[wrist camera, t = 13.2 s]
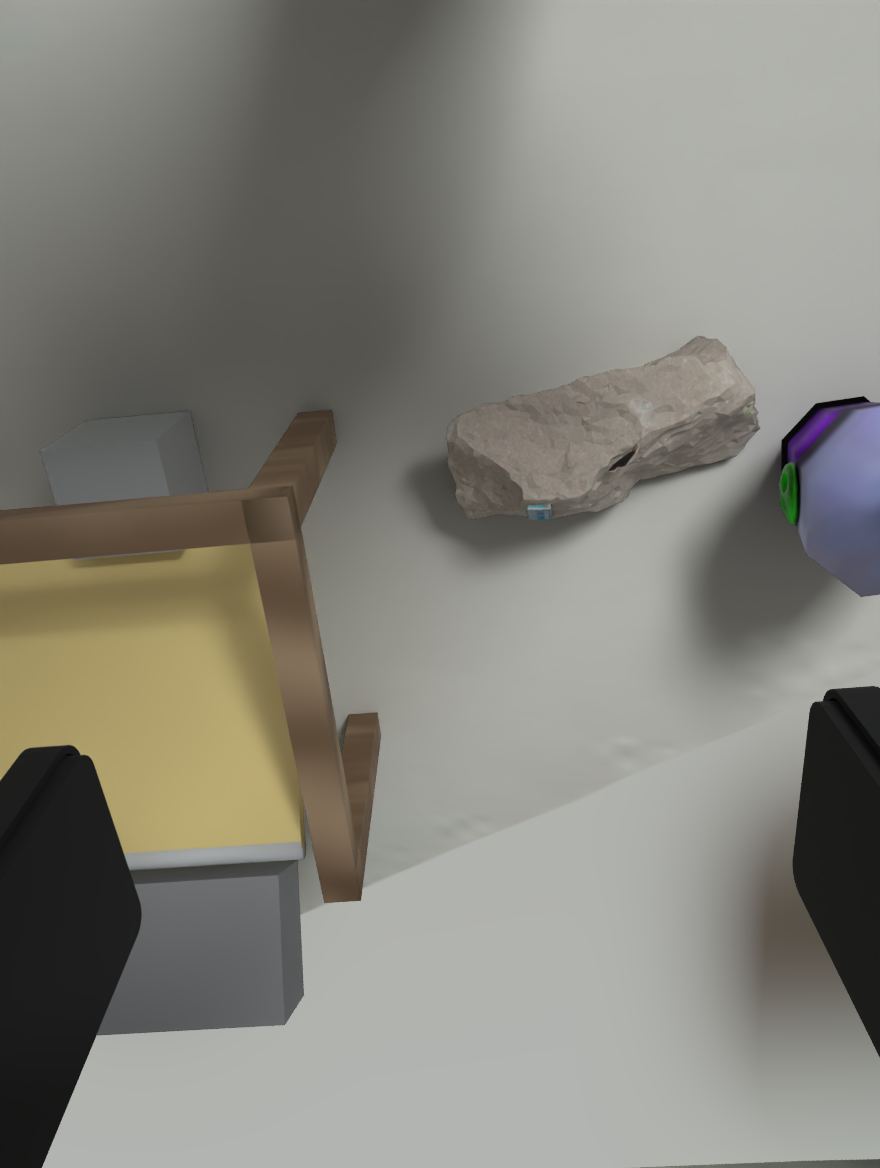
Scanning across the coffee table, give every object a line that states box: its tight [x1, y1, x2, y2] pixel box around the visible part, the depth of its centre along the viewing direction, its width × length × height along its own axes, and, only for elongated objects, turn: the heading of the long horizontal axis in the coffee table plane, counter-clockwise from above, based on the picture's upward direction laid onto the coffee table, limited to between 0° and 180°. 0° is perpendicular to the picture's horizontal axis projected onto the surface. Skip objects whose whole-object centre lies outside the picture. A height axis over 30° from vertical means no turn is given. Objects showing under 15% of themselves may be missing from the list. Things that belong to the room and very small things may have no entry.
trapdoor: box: [0, 544, 306, 1035], centre depth 39 cm, size 21×14×4 cm
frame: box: [0, 410, 381, 903], centre depth 38 cm, size 19×19×12 cm
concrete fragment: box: [446, 336, 760, 520], centre depth 37 cm, size 7×14×6 cm, turn 101°
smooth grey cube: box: [40, 411, 208, 560], centre depth 38 cm, size 5×5×5 cm
